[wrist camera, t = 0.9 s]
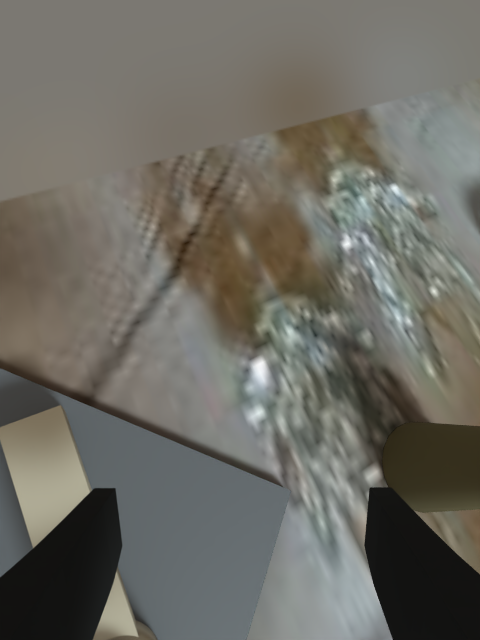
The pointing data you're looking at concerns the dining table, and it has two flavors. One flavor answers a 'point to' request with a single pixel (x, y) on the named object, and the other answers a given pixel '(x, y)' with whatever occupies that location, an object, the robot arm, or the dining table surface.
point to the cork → (434, 466)
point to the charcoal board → (161, 519)
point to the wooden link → (60, 499)
